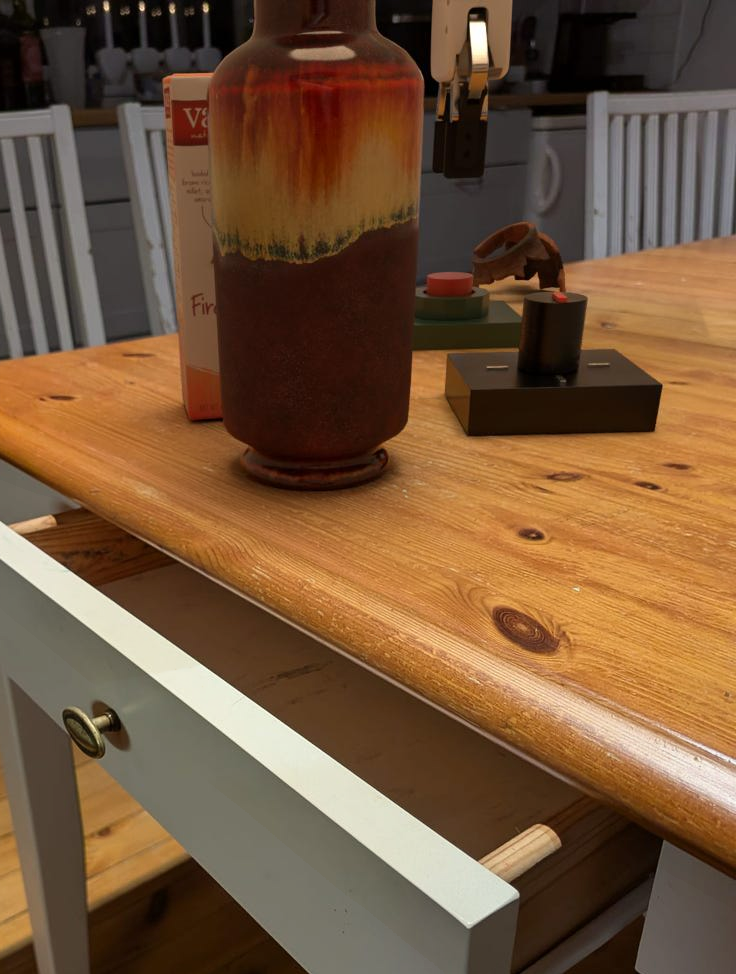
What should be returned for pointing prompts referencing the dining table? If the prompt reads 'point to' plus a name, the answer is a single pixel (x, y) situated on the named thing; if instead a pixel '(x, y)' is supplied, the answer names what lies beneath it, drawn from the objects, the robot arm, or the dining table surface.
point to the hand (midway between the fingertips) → (456, 172)
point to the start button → (449, 284)
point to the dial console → (551, 395)
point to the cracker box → (193, 242)
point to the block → (464, 322)
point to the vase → (315, 240)
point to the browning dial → (552, 332)
